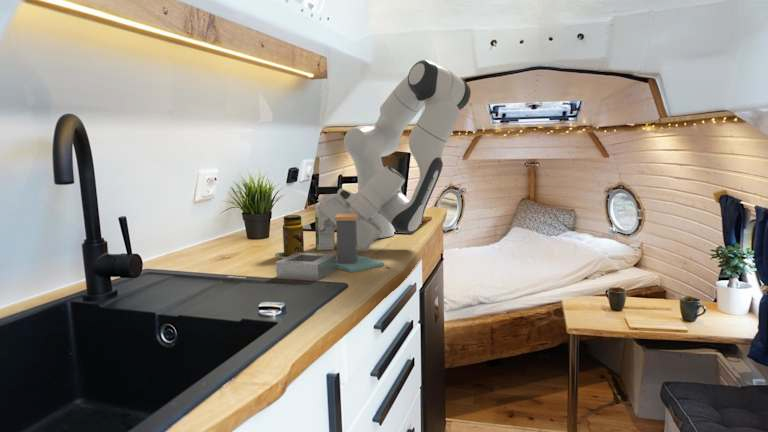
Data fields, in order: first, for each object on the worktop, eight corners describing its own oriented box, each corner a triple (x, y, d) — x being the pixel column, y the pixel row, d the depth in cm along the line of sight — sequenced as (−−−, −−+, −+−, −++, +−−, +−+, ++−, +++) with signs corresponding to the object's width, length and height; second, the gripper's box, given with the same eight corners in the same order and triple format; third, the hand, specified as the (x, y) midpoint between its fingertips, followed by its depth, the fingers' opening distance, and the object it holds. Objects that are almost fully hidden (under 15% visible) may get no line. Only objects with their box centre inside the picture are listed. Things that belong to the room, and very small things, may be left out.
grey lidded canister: (338, 259, 145) (337, 213, 143) (358, 258, 145) (357, 213, 143) (336, 264, 140) (334, 217, 138) (357, 263, 139) (356, 216, 137)
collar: (297, 266, 141) (297, 252, 140) (336, 268, 137) (336, 254, 137) (276, 277, 130) (275, 262, 129) (318, 280, 127) (317, 264, 126)
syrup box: (317, 246, 167) (315, 202, 164) (335, 246, 167) (334, 202, 165) (315, 250, 161) (314, 204, 159) (334, 249, 161) (333, 204, 159)
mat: (328, 264, 142) (328, 261, 142) (360, 258, 149) (360, 255, 149) (350, 272, 134) (350, 269, 134) (383, 265, 141) (383, 262, 140)
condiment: (307, 256, 153) (305, 216, 151) (278, 259, 150) (276, 218, 148) (302, 251, 160) (301, 213, 158) (275, 254, 157) (273, 215, 155)
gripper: (386, 233, 157) (355, 265, 156) (342, 190, 163) (311, 221, 162) (383, 228, 151) (350, 262, 150) (336, 184, 157) (305, 217, 156)
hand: (330, 241), depth 156 cm, fingers open, 8 cm apart
